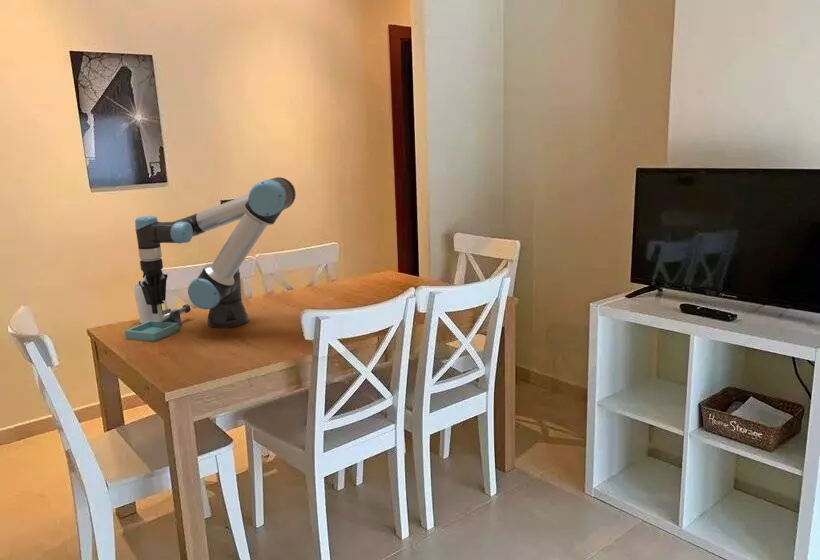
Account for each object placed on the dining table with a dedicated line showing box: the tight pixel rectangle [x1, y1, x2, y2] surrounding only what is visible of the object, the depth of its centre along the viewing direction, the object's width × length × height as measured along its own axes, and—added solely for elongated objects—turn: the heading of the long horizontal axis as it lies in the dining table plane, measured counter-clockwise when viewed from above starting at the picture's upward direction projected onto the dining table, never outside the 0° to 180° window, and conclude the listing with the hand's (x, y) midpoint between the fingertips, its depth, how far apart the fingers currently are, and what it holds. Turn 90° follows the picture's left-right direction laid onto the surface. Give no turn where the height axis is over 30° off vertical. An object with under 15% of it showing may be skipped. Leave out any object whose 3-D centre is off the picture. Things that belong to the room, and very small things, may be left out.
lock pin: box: [162, 304, 192, 321], centre depth 245 cm, size 3×16×3 cm, turn 160°
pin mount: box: [162, 307, 182, 328], centre depth 244 cm, size 6×4×6 cm, turn 70°
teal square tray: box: [124, 320, 180, 343], centre depth 235 cm, size 13×13×3 cm
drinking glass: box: [133, 283, 154, 324], centre depth 249 cm, size 7×7×15 cm
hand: (158, 321), depth 237 cm, fingers closed
